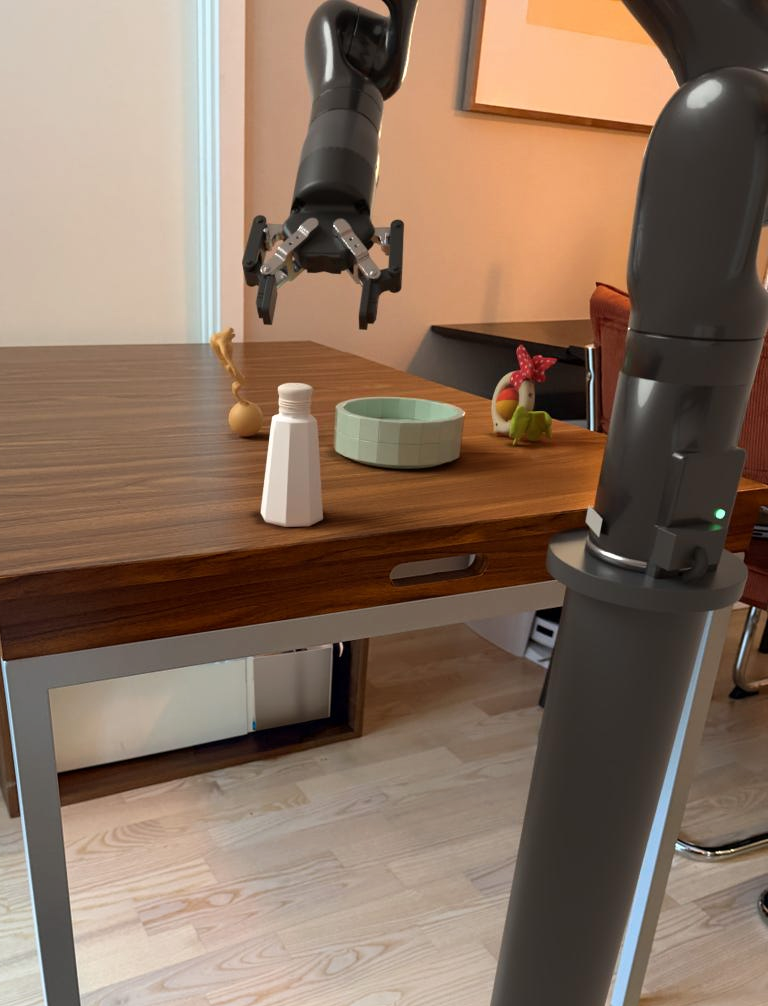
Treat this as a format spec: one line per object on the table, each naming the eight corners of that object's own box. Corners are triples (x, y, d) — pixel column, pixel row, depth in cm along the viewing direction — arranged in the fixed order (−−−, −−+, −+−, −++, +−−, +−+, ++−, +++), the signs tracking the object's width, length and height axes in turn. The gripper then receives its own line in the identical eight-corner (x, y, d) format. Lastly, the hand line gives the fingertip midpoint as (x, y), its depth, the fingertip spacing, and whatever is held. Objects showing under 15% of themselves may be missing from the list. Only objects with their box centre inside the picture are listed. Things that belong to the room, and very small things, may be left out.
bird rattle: (475, 454, 104) (523, 439, 96) (464, 361, 103) (512, 338, 95) (517, 451, 106) (568, 436, 98) (507, 360, 106) (557, 337, 97)
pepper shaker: (335, 521, 73) (343, 388, 68) (282, 531, 70) (286, 393, 66) (299, 504, 77) (303, 377, 72) (247, 513, 74) (248, 382, 70)
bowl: (483, 466, 91) (489, 418, 89) (367, 476, 86) (371, 425, 84) (420, 437, 102) (424, 394, 100) (314, 444, 98) (316, 399, 95)
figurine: (267, 444, 97) (268, 332, 92) (213, 445, 96) (212, 331, 91) (258, 428, 105) (259, 323, 99) (208, 428, 104) (207, 322, 98)
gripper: (256, 142, 78) (227, 287, 73) (415, 145, 76) (396, 294, 71) (267, 208, 85) (241, 345, 80) (412, 212, 83) (395, 353, 78)
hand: (314, 321), depth 75 cm, fingers open, 8 cm apart
